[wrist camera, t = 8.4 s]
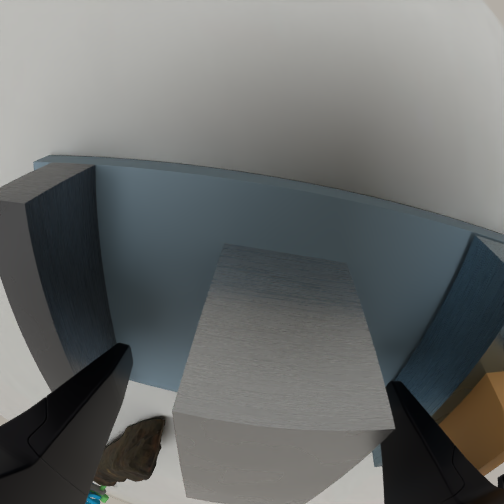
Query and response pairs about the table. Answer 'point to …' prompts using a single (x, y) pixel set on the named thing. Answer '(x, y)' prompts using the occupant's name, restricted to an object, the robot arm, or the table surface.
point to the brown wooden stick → (131, 454)
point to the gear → (97, 494)
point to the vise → (200, 257)
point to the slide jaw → (466, 360)
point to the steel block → (278, 382)
